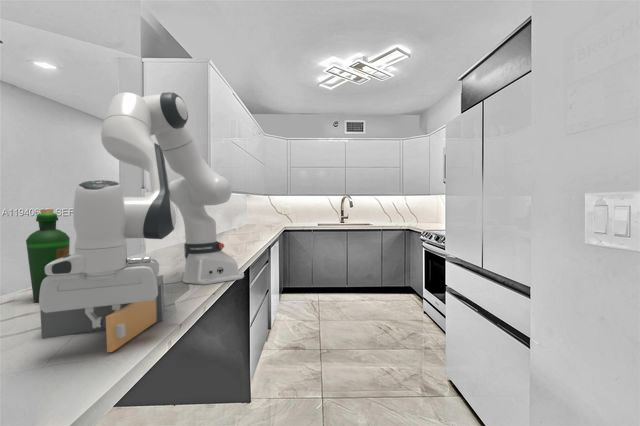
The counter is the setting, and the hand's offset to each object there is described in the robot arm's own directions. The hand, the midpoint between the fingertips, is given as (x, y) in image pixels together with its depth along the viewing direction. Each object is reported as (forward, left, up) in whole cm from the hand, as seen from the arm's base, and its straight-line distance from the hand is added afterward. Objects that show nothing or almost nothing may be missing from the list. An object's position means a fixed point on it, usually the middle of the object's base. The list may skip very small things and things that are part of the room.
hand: (104, 326), depth 68 cm
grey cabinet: (+2, -17, -4) cm, 17 cm away
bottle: (+23, -48, -4) cm, 53 cm away
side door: (-6, -3, -4) cm, 7 cm away
